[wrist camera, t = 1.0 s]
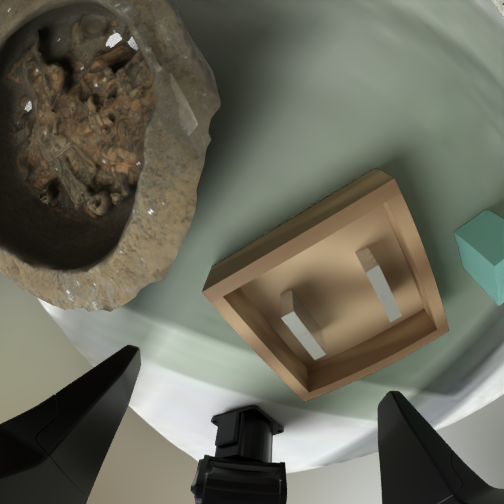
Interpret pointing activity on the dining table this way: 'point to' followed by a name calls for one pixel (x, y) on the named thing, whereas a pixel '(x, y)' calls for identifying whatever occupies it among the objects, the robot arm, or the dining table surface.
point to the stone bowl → (98, 146)
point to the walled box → (333, 287)
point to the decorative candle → (500, 6)
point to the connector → (484, 252)
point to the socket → (308, 327)
